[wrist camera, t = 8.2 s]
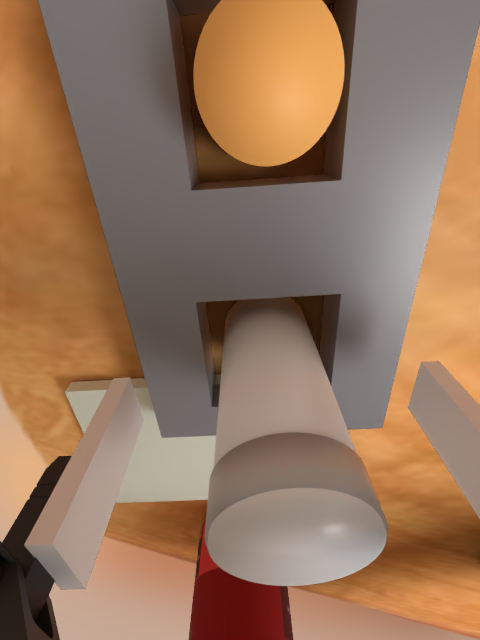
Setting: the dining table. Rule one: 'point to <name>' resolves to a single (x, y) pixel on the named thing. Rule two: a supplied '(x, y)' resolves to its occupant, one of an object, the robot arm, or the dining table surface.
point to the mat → (152, 450)
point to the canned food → (236, 605)
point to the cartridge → (285, 459)
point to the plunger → (268, 77)
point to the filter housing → (265, 191)
